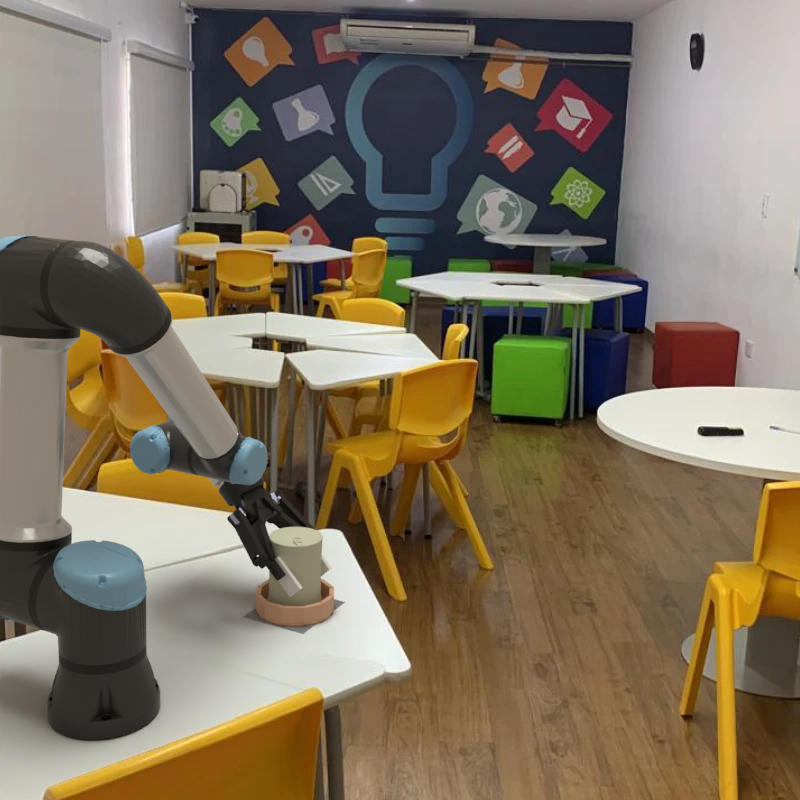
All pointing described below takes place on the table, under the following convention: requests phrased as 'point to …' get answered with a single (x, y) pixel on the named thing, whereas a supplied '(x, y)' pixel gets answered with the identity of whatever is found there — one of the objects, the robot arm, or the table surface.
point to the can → (297, 564)
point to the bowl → (295, 608)
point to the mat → (302, 630)
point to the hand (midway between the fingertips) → (311, 582)
